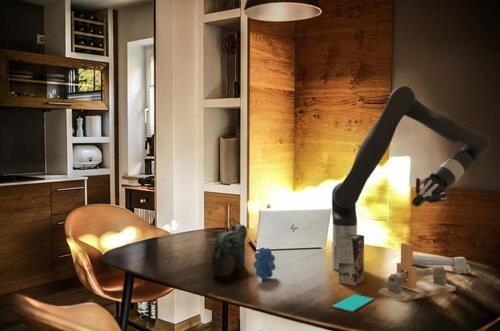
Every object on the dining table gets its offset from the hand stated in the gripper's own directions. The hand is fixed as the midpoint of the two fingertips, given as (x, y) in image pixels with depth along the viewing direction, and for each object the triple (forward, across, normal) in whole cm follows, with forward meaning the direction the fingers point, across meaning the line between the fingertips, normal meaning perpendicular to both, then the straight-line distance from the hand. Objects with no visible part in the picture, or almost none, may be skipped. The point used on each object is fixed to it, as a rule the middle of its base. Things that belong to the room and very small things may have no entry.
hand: (414, 204), depth 172 cm
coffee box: (+30, -3, +17) cm, 35 cm away
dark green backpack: (+59, -39, +14) cm, 72 cm away
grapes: (+53, -22, +10) cm, 58 cm away
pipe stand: (+19, +16, +14) cm, 29 cm away
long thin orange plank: (+22, +14, +9) cm, 28 cm away
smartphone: (+41, +11, 0) cm, 42 cm away
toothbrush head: (-1, +6, +38) cm, 38 cm away
